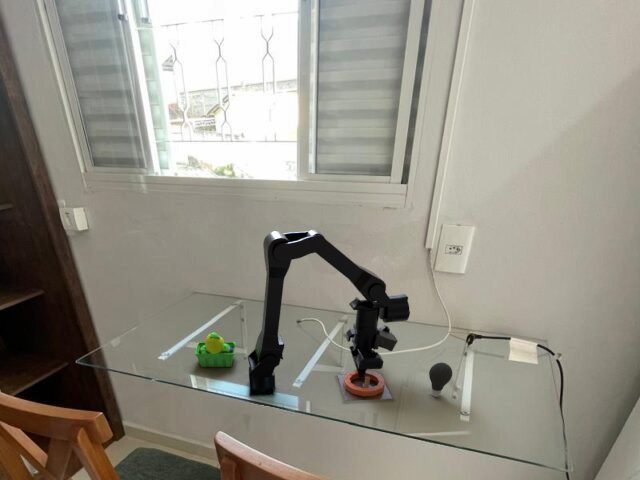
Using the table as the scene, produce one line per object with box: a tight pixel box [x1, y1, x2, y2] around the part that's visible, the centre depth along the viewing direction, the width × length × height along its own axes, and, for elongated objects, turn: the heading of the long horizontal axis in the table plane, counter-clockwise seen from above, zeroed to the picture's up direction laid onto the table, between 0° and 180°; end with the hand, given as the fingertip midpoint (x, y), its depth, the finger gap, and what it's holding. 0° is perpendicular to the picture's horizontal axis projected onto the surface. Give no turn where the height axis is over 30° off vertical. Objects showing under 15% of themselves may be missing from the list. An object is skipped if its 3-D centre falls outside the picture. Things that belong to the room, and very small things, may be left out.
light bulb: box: [428, 362, 453, 398], centre depth 107 cm, size 6×6×10 cm
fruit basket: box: [194, 332, 236, 368], centre depth 121 cm, size 11×9×11 cm
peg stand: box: [337, 373, 393, 402], centre depth 112 cm, size 12×13×5 cm
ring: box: [343, 369, 386, 396], centre depth 113 cm, size 11×11×2 cm
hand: (360, 375), depth 117 cm, fingers closed on ring, 2 cm apart
